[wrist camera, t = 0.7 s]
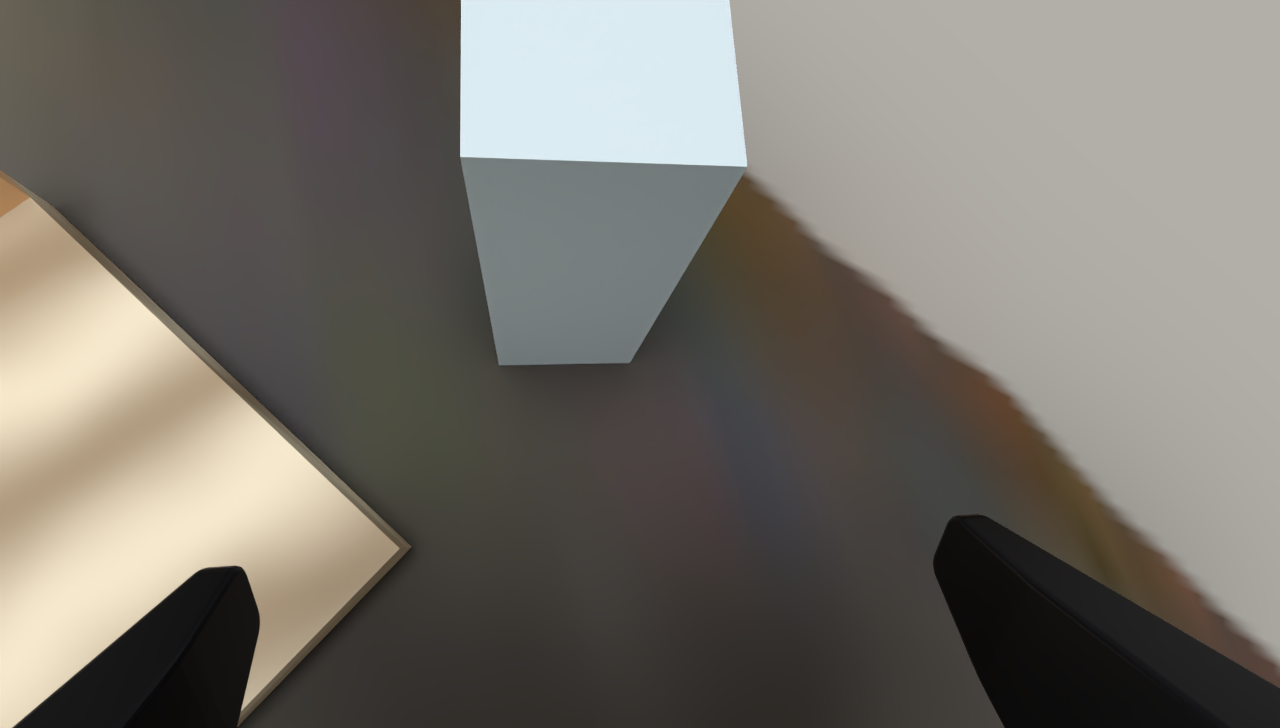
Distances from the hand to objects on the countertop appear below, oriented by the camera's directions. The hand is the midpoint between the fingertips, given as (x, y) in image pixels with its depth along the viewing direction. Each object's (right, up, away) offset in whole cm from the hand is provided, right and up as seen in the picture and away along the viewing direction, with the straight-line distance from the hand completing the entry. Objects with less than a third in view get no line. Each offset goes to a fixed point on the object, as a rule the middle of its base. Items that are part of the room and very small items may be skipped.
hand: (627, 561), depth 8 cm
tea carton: (-2, +4, +15) cm, 16 cm away
